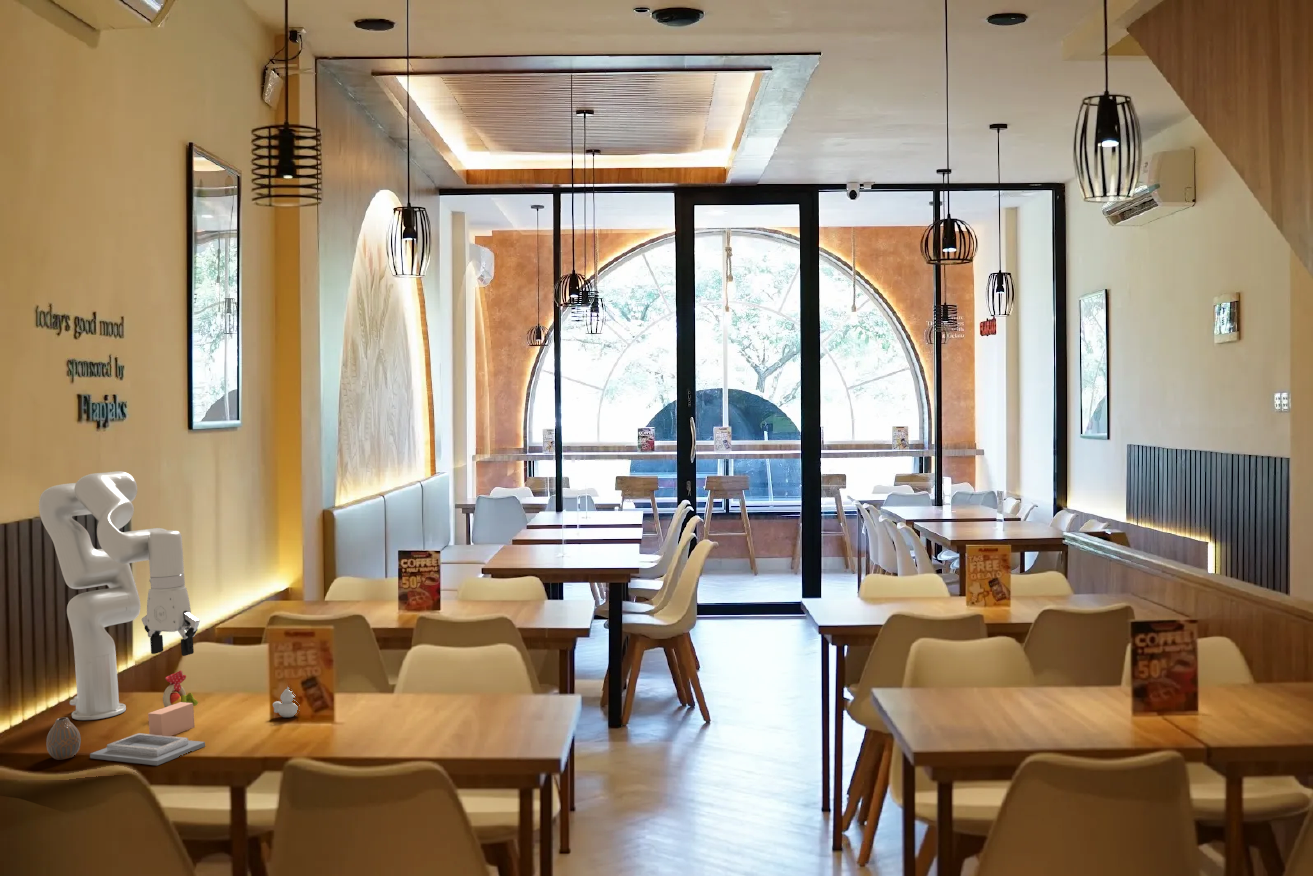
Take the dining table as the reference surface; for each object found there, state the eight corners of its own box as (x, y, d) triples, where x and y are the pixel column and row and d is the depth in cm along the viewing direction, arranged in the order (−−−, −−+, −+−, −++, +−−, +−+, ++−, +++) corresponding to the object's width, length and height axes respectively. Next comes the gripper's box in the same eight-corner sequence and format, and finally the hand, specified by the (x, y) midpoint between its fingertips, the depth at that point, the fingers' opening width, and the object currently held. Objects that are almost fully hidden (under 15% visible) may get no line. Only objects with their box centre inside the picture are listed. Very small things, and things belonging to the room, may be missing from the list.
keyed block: (149, 738, 277) (148, 713, 277) (182, 726, 286) (180, 702, 286) (162, 739, 276) (160, 714, 275) (194, 727, 285) (193, 703, 285)
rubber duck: (295, 719, 287) (293, 687, 287) (269, 720, 288) (267, 688, 287) (303, 713, 292) (301, 681, 292) (278, 714, 293) (276, 682, 293)
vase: (71, 750, 270) (68, 713, 269) (87, 754, 266) (85, 716, 265) (41, 759, 264) (38, 720, 264) (57, 763, 260) (55, 724, 260)
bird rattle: (185, 724, 296) (203, 700, 304) (171, 688, 291) (190, 666, 299) (163, 724, 297) (182, 700, 305) (149, 688, 292) (169, 666, 300)
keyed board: (90, 758, 263) (89, 747, 263) (139, 739, 276) (139, 729, 276) (157, 765, 255) (156, 754, 255) (205, 746, 268) (204, 735, 268)
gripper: (128, 584, 280) (133, 655, 280) (182, 586, 273) (187, 659, 273) (153, 579, 287) (158, 648, 287) (207, 580, 280) (211, 652, 280)
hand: (172, 653), depth 280 cm, fingers open, 9 cm apart
